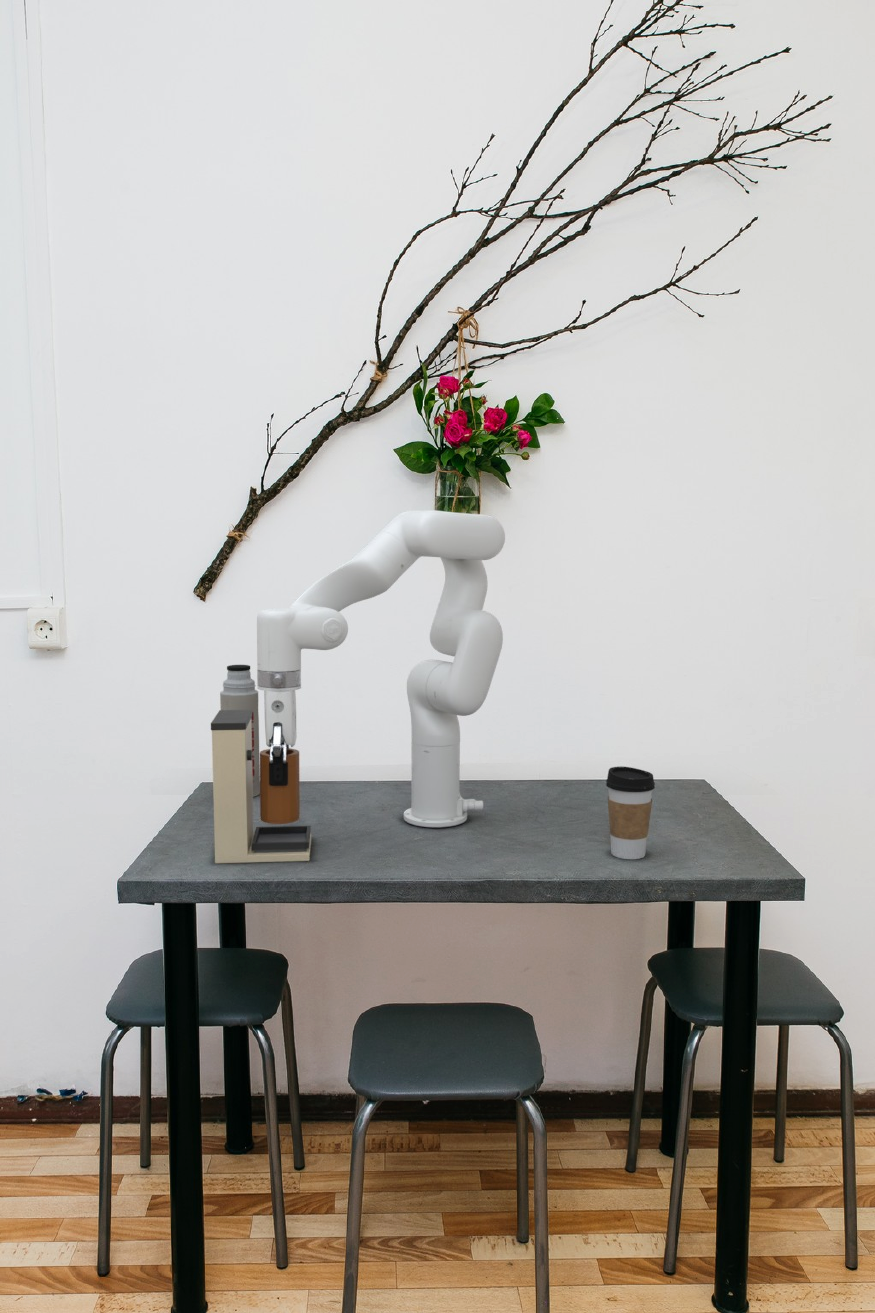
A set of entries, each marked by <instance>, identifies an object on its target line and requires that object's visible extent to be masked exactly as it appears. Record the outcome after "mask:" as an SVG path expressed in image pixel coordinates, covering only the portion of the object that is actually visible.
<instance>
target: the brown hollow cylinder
mask: <svg viewBox="0 0 875 1313" xmlns="http://www.w3.org/2000/svg"><path fill="white" fill-rule="evenodd" d="M281 750H282V751H283V749H281ZM269 762H270V748H267V749H263V750H260V751H259V764H260V794H259V809H260V810H259V816H260V821H261V822H263V823H266V824H271V825H285V824H291V823H295V822H297V821H298V820H300V814H301V813H300V811H301V808H300V806H301V805H300V803H301V802H300V799H301V798H300V792H301V790H300V750H298V749H297V748H296V749H295V748H292V747H289V748H287V751H286V762H288V785H286V786H270V785H269Z"/></svg>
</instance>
